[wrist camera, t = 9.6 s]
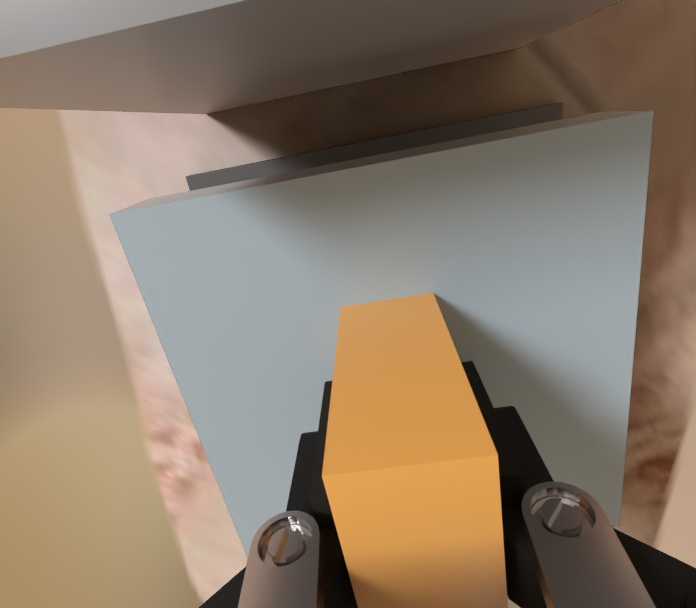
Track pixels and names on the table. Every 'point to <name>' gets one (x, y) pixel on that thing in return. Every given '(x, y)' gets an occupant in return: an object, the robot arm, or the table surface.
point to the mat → (377, 146)
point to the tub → (244, 47)
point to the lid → (408, 336)
